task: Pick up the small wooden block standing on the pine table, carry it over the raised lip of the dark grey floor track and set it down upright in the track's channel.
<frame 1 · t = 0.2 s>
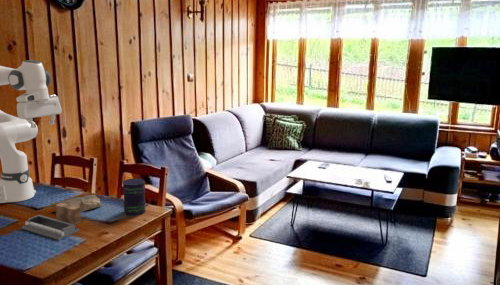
hand: (42, 126, 186), 39 cm above the table, tool pointing down, fingers open, 8 cm apart
grey brown rock: (78, 208, 193), on the table
wooden block: (68, 221, 178), on the table
floor track: (50, 229, 169), on the table
storage jar: (135, 212, 190), on the table
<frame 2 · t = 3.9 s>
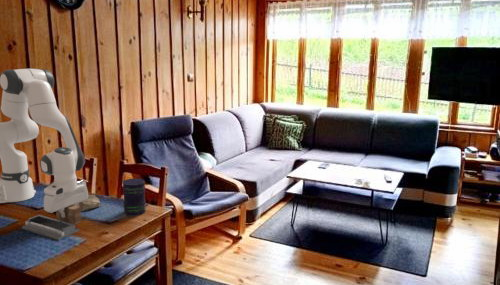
hand: (68, 215, 177), 3 cm above the table, tool pointing down, fingers closed on wooden block, 3 cm apart
wooden block: (68, 221, 178), on the table, touching gripper
everything else where it was.
when the fingers open (4 cm above the table, at t = 9.0 s): wooden block stays where it is, resting on floor track.
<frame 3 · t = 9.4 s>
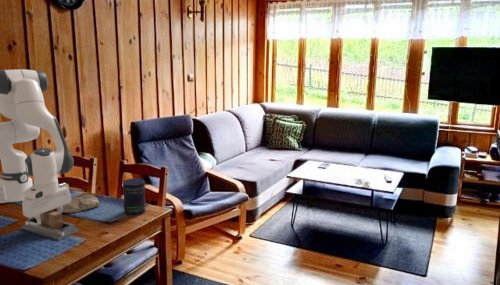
hand: (49, 220, 168), 4 cm above the table, tool pointing down, fingers open, 7 cm apart
wooden block: (50, 227, 169), point 1 cm above the table, touching floor track
everything else where it was.
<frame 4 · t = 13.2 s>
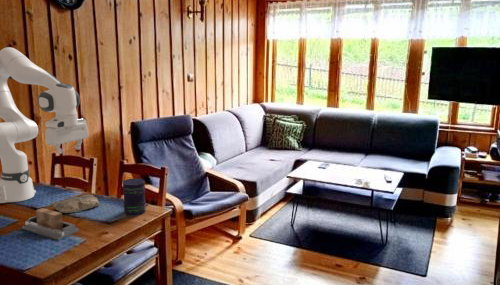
hand: (69, 151, 181), 29 cm above the table, tool pointing down, fingers open, 8 cm apart
at the end: wooden block inside the target area on the floor track (0.1 cm from its centre), point 1.0 cm above the floor track's base; wooden block tilted 0°; the gripper is holding nothing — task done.
